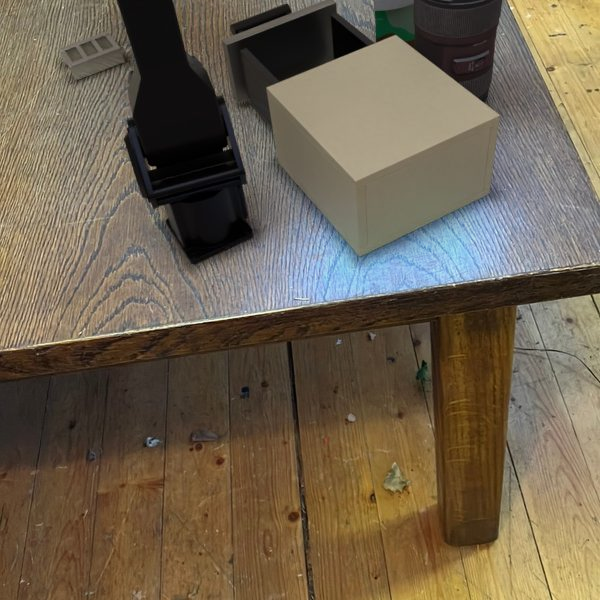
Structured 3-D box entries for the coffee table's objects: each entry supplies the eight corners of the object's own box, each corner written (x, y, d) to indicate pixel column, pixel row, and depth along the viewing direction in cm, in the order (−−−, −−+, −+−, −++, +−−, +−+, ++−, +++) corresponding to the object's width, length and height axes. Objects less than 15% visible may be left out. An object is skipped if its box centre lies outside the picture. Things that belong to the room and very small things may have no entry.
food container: (430, 79, 80) (434, -8, 72) (375, 77, 81) (373, -8, 74) (440, 19, 88) (444, -66, 80) (389, 18, 89) (388, -65, 81)
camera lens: (496, 91, 78) (514, -51, 66) (479, 137, 73) (495, -6, 62) (422, 80, 80) (428, -57, 69) (401, 124, 76) (403, -16, 64)
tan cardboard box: (277, 162, 74) (265, 87, 67) (395, 111, 77) (395, 34, 70) (359, 257, 64) (355, 181, 58) (489, 194, 68) (500, 115, 61)
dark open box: (213, 75, 83) (201, 18, 78) (312, 36, 86) (307, -21, 81) (296, 169, 71) (288, 109, 66) (407, 120, 75) (407, 59, 69)
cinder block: (75, 81, 87) (69, 66, 86) (64, 63, 90) (58, 48, 88) (125, 62, 89) (120, 47, 87) (112, 45, 92) (107, 30, 90)
